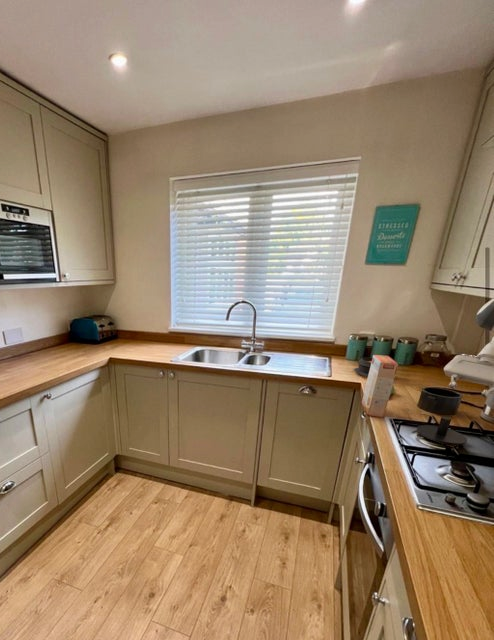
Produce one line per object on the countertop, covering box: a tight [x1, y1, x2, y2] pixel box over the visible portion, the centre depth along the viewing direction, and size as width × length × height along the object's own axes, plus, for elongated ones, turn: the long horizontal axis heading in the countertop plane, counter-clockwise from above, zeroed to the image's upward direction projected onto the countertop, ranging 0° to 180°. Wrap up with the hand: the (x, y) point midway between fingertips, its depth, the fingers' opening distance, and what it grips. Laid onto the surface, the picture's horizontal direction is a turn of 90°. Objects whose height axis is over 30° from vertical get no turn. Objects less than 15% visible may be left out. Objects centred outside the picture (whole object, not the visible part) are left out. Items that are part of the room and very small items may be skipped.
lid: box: [416, 416, 468, 446], centre depth 106 cm, size 13×13×7 cm
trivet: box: [416, 433, 457, 448], centre depth 107 cm, size 10×10×1 cm
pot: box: [416, 386, 464, 419], centre depth 128 cm, size 12×18×8 cm
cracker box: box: [361, 354, 399, 418], centre depth 126 cm, size 14×6×21 cm, turn 161°
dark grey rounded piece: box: [354, 356, 373, 378], centre depth 177 cm, size 25×19×8 cm
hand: (467, 391), depth 106 cm, fingers open, 8 cm apart
